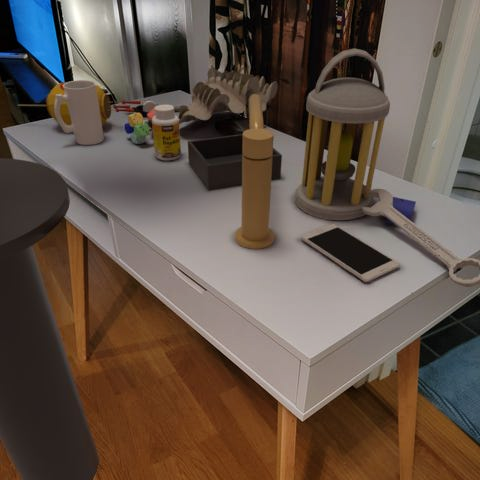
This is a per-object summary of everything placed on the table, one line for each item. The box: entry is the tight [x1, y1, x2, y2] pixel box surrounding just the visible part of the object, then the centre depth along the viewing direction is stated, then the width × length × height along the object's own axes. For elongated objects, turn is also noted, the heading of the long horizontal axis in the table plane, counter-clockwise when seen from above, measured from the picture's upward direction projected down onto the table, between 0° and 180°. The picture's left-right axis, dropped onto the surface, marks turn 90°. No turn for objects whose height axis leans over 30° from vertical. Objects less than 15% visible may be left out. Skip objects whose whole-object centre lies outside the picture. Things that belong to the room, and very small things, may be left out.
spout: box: [242, 94, 275, 159], centre depth 78 cm, size 24×4×5 cm, turn 0°
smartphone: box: [300, 223, 401, 283], centre depth 76 cm, size 8×1×15 cm
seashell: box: [178, 68, 279, 125], centre depth 117 cm, size 28×18×15 cm, turn 132°
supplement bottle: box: [152, 104, 182, 162], centre depth 102 cm, size 6×6×10 cm
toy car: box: [213, 116, 250, 136], centre depth 114 cm, size 6×12×4 cm, turn 37°
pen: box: [125, 105, 182, 113], centre depth 127 cm, size 1×16×1 cm, turn 102°
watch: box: [135, 100, 159, 119], centre depth 124 cm, size 8×5×4 cm, turn 108°
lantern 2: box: [17, 81, 142, 127], centre depth 115 cm, size 10×10×30 cm
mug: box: [54, 79, 105, 146], centre depth 107 cm, size 10×7×12 cm, turn 130°
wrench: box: [361, 188, 480, 288], centre depth 77 cm, size 26×6×2 cm, turn 30°
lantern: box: [294, 48, 391, 221], centre depth 81 cm, size 14×14×25 cm
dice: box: [123, 112, 150, 145], centre depth 109 cm, size 8×3×6 cm, turn 36°
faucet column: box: [234, 155, 275, 250], centre depth 75 cm, size 6×6×14 cm
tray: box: [187, 134, 283, 191], centre depth 98 cm, size 15×13×5 cm
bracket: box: [382, 196, 417, 226], centre depth 85 cm, size 9×5×3 cm, turn 158°
